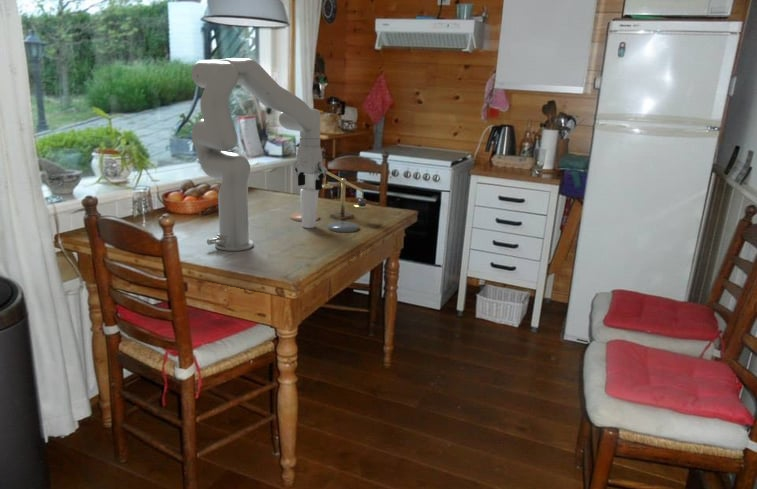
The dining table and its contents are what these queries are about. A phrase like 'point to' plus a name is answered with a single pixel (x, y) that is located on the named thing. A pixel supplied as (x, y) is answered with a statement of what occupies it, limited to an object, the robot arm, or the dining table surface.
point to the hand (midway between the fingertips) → (310, 187)
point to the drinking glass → (308, 206)
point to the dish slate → (343, 227)
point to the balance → (343, 214)
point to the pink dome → (299, 216)
